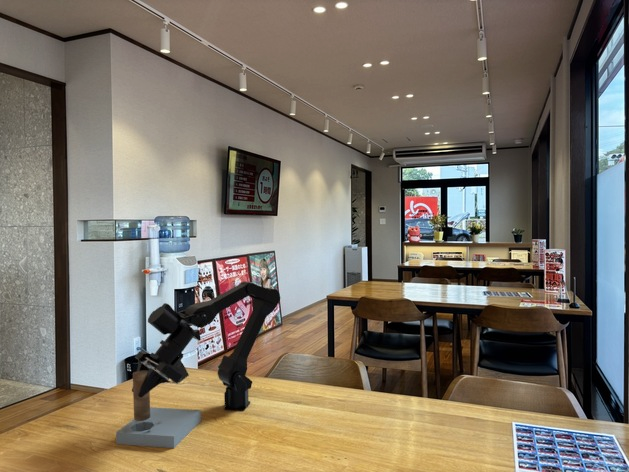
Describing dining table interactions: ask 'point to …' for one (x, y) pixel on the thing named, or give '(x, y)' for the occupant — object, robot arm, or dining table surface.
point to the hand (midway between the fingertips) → (136, 394)
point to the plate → (160, 428)
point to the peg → (140, 402)
